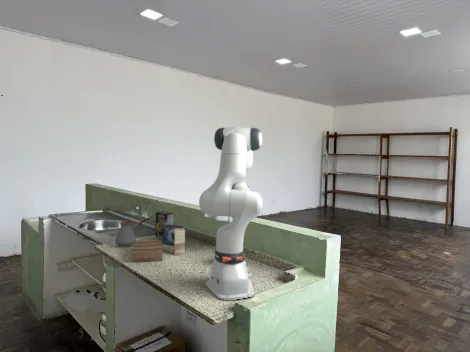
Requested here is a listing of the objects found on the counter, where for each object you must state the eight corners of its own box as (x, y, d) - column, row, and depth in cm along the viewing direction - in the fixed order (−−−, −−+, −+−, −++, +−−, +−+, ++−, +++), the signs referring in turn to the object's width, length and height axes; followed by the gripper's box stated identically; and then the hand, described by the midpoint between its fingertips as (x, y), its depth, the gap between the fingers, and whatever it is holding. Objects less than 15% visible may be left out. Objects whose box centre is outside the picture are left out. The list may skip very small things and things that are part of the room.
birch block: (184, 255, 170) (184, 230, 169) (174, 255, 169) (175, 230, 168) (183, 252, 175) (183, 228, 174) (173, 252, 173) (174, 228, 172)
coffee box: (154, 238, 200) (155, 212, 199) (161, 236, 206) (162, 210, 205) (166, 240, 196) (167, 214, 195) (173, 238, 202) (173, 212, 200)
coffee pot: (117, 249, 176) (118, 221, 175) (112, 243, 186) (112, 217, 185) (155, 244, 188) (156, 218, 187) (149, 239, 198) (149, 214, 197)
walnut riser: (162, 260, 160) (162, 250, 159) (132, 262, 156) (132, 252, 156) (160, 249, 179) (160, 240, 178) (134, 250, 175) (134, 241, 175)
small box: (161, 244, 188) (161, 226, 187) (167, 241, 194) (167, 224, 193) (178, 246, 185) (178, 228, 184) (183, 243, 191) (183, 225, 190)
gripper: (223, 203, 187) (199, 204, 183) (233, 210, 167) (206, 211, 163) (223, 214, 187) (199, 215, 184) (232, 222, 168) (206, 223, 164)
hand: (202, 213), depth 173 cm, fingers open, 8 cm apart
